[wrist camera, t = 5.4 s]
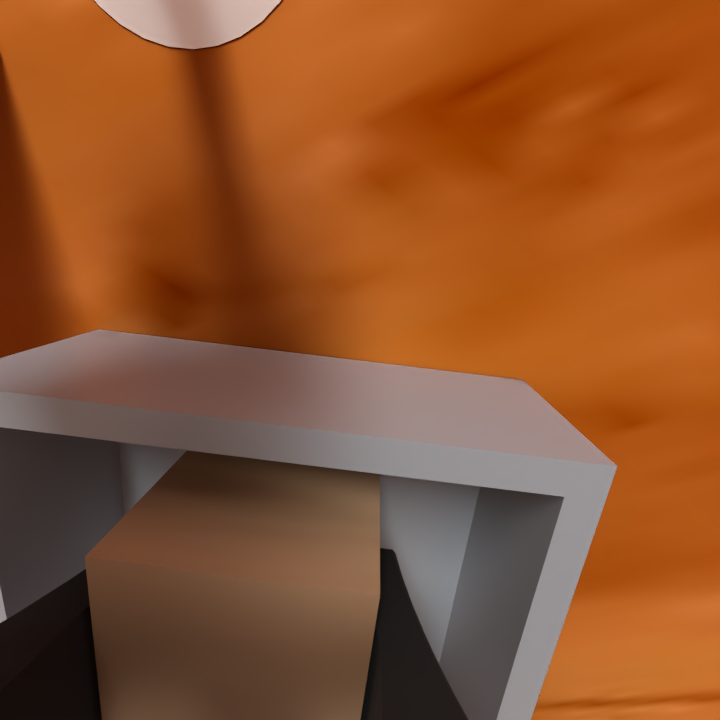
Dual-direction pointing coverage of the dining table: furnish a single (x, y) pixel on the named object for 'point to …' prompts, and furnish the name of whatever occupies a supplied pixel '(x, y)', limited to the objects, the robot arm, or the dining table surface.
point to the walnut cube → (238, 593)
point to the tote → (324, 449)
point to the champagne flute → (188, 19)
